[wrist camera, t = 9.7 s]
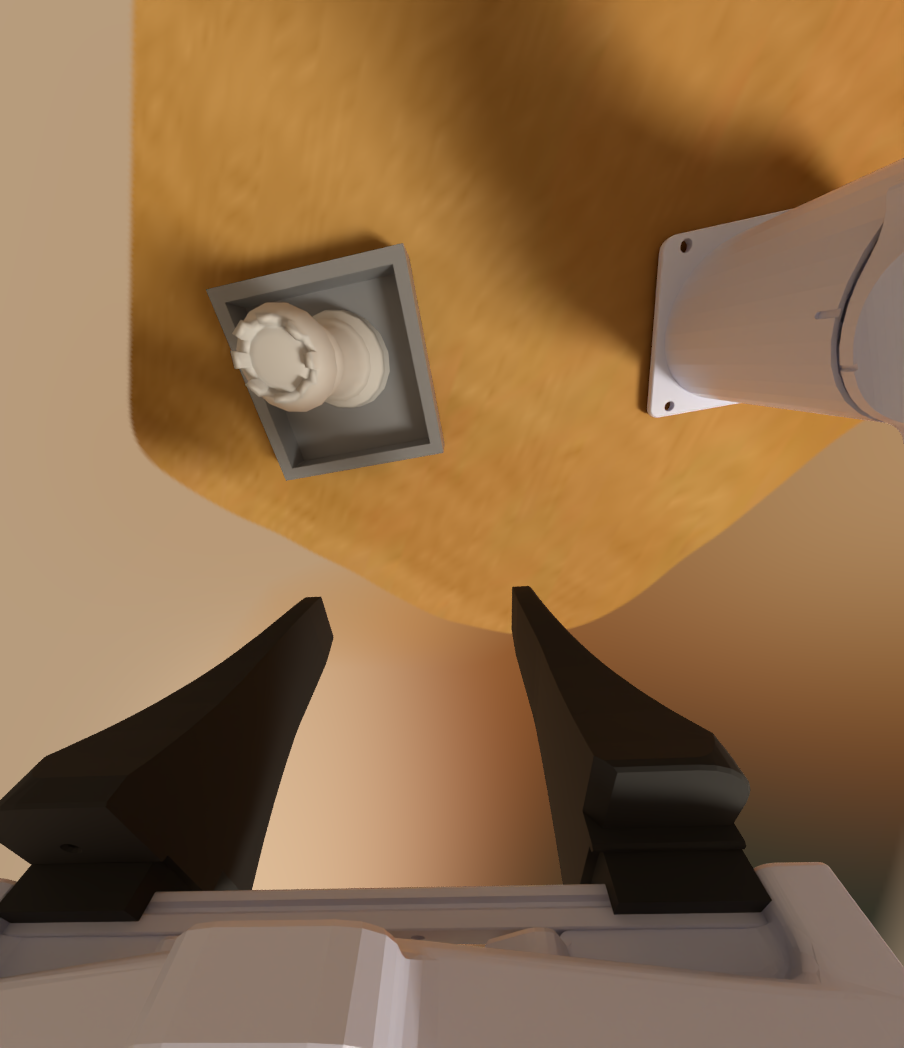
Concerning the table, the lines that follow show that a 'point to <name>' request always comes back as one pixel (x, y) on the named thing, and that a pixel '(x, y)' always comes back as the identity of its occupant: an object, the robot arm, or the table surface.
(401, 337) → the tray
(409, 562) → the table surface
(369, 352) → the rook chess piece
